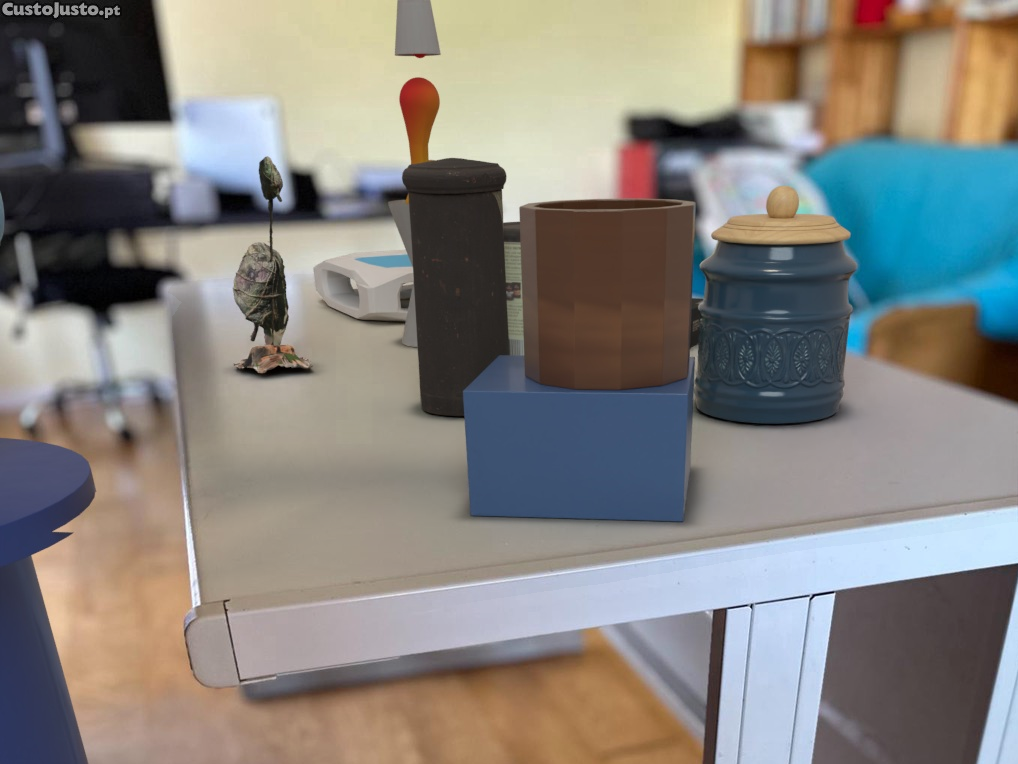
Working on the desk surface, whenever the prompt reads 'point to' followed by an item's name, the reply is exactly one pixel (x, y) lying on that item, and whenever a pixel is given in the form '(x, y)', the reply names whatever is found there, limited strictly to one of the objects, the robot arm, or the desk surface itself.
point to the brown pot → (607, 292)
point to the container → (457, 275)
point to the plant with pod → (266, 290)
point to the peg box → (576, 447)
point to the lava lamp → (415, 115)
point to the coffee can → (514, 287)
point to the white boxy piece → (367, 284)
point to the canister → (774, 316)
